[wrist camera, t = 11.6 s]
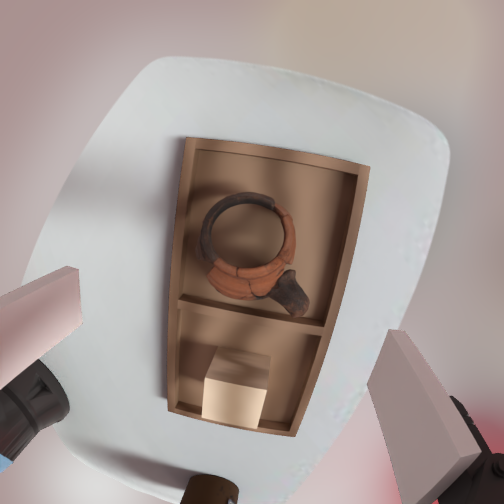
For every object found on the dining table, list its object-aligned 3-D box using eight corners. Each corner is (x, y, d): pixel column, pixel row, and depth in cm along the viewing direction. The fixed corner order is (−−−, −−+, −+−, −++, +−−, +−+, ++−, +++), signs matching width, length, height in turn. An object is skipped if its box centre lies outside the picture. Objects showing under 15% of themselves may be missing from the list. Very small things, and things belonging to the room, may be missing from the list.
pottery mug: (187, 265, 30) (165, 238, 22) (248, 203, 32) (246, 161, 24) (274, 344, 28) (282, 346, 20) (334, 274, 30) (360, 250, 22)
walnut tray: (172, 400, 35) (167, 410, 33) (193, 140, 27) (186, 137, 25) (295, 425, 34) (295, 437, 32) (364, 167, 26) (370, 166, 24)
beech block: (213, 385, 33) (201, 417, 27) (218, 346, 32) (204, 377, 26) (261, 394, 33) (256, 429, 27) (271, 356, 31) (267, 390, 25)
